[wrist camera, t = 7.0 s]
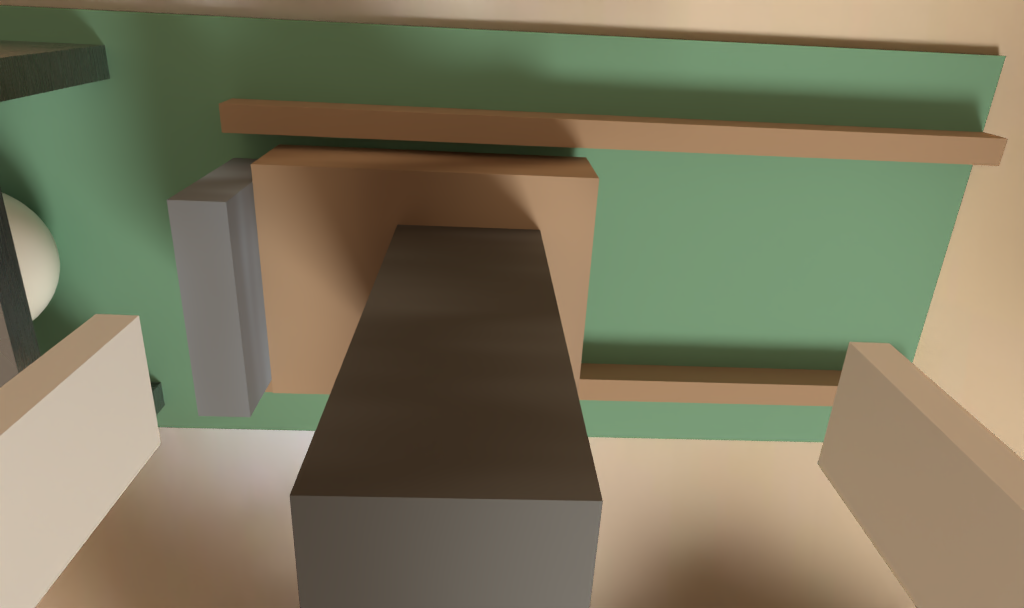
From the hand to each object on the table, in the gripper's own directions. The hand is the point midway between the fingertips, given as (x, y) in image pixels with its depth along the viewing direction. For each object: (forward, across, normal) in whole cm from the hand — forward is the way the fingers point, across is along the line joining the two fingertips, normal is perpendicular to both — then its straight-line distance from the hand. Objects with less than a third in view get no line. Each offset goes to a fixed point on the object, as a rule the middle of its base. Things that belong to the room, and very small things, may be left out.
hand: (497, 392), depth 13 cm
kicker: (+8, +2, 0) cm, 8 cm away
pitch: (+8, +3, 0) cm, 8 cm away
